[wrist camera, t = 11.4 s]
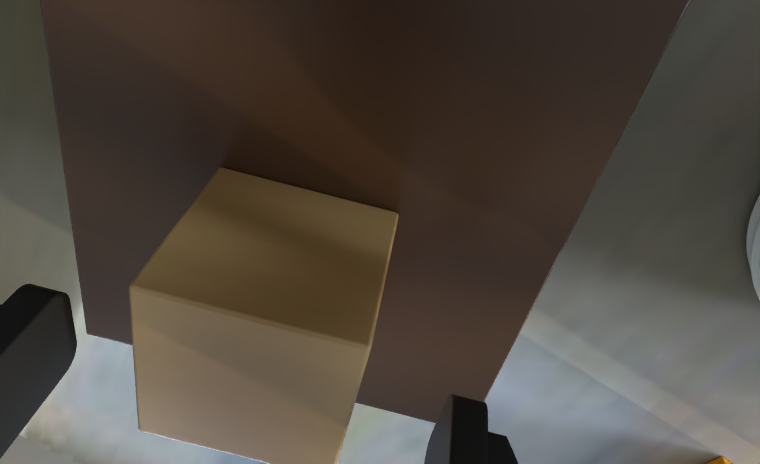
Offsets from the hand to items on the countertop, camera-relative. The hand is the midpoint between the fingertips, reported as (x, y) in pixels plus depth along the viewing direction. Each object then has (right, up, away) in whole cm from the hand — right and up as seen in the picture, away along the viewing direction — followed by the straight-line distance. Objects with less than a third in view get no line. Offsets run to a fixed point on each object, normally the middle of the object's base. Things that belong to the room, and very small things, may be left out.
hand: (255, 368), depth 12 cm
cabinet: (+2, +9, +10) cm, 14 cm away
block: (0, +2, +3) cm, 4 cm away
